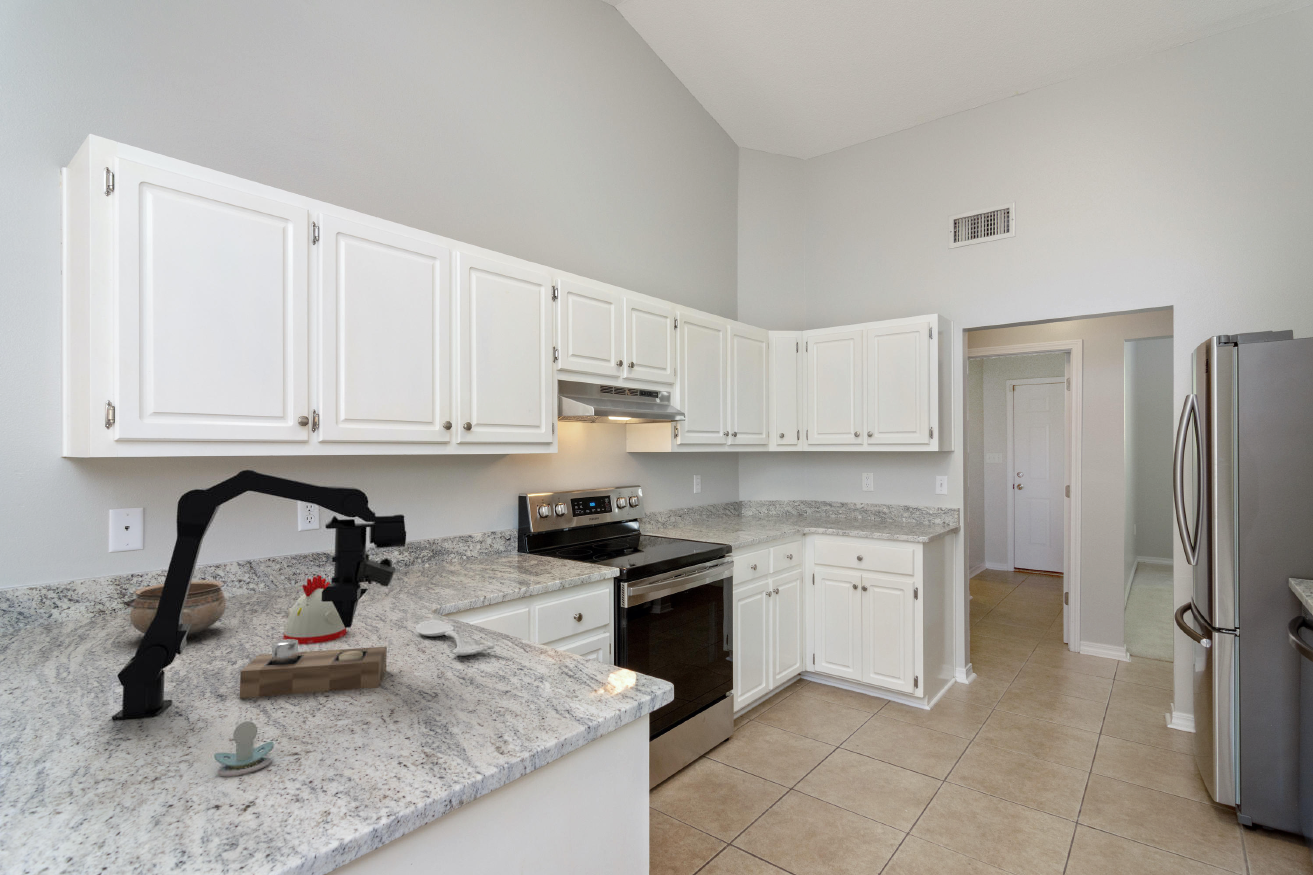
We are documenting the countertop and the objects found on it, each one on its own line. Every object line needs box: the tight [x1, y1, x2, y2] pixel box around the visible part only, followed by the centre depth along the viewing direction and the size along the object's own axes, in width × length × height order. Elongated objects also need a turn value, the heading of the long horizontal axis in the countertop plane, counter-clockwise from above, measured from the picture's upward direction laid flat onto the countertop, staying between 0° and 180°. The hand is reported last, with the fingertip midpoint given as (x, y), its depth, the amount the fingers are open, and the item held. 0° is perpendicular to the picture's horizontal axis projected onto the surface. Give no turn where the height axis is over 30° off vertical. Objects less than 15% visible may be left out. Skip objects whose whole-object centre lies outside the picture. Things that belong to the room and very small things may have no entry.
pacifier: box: [213, 720, 274, 777], centre depth 92 cm, size 7×6×6 cm
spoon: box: [415, 619, 495, 657], centre depth 152 cm, size 9×32×4 cm, turn 39°
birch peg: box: [339, 651, 363, 660], centre depth 127 cm, size 4×4×5 cm
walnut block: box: [239, 646, 388, 699], centre depth 125 cm, size 10×24×5 cm, turn 105°
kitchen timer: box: [282, 574, 347, 645], centre depth 158 cm, size 14×14×15 cm
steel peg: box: [271, 639, 299, 665], centre depth 124 cm, size 4×4×5 cm
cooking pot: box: [129, 579, 227, 640], centre depth 155 cm, size 25×19×12 cm
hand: (348, 627), depth 127 cm, fingers closed
